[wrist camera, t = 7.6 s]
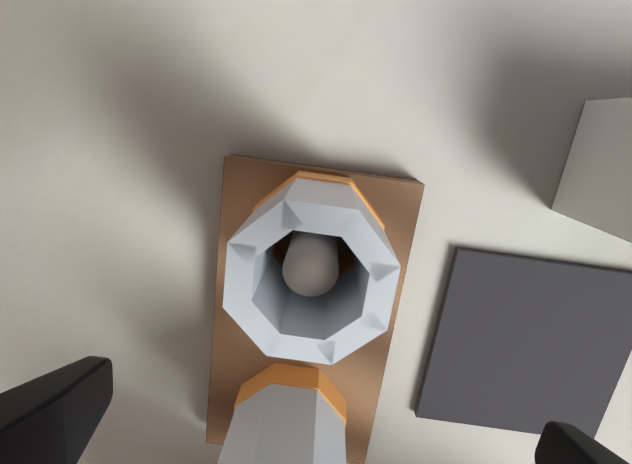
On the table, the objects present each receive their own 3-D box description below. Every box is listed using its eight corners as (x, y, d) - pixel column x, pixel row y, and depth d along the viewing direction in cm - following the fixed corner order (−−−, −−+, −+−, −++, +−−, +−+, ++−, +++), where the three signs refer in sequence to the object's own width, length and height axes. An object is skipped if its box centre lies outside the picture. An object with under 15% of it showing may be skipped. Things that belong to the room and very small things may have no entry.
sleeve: (365, 296, 19) (381, 374, 13) (251, 280, 19) (216, 351, 13) (387, 182, 17) (415, 214, 11) (262, 165, 17) (227, 188, 11)
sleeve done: (334, 457, 22) (335, 581, 16) (235, 443, 22) (200, 562, 16) (350, 373, 20) (358, 476, 14) (243, 358, 20) (208, 454, 14)
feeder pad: (588, 435, 22) (592, 441, 22) (414, 411, 22) (416, 416, 22) (655, 275, 19) (661, 278, 19) (456, 247, 19) (458, 249, 19)
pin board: (362, 447, 23) (371, 550, 17) (211, 426, 23) (174, 523, 17) (418, 180, 18) (456, 206, 13) (231, 154, 18) (188, 168, 13)
